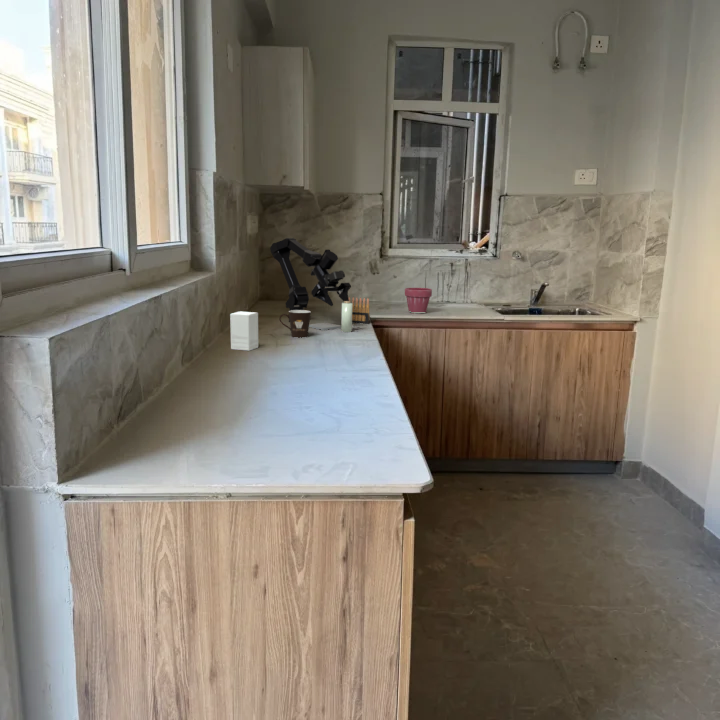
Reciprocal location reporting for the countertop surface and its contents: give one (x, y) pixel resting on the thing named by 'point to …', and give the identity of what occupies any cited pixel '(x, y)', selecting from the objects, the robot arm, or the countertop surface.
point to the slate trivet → (324, 326)
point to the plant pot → (418, 298)
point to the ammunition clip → (360, 311)
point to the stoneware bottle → (346, 317)
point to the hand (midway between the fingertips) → (340, 304)
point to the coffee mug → (298, 322)
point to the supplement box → (244, 330)
